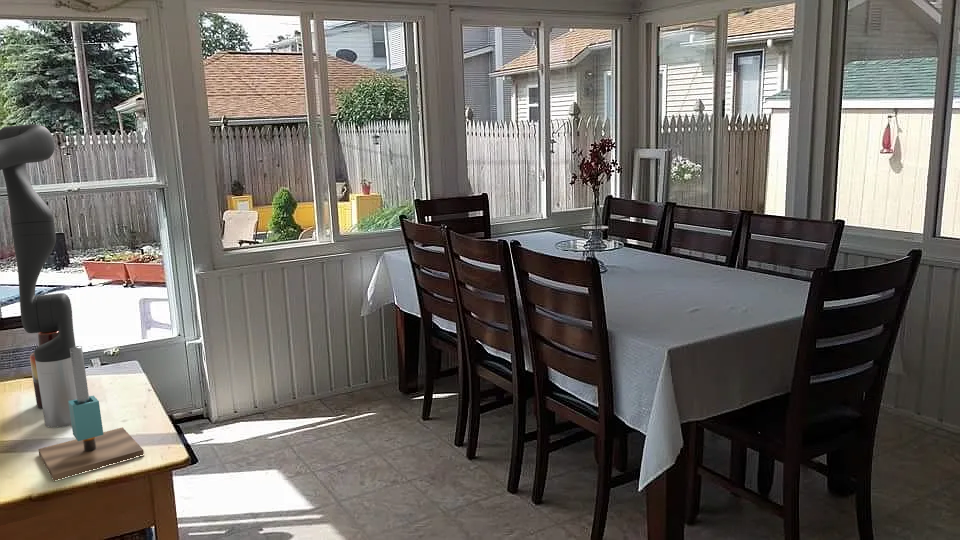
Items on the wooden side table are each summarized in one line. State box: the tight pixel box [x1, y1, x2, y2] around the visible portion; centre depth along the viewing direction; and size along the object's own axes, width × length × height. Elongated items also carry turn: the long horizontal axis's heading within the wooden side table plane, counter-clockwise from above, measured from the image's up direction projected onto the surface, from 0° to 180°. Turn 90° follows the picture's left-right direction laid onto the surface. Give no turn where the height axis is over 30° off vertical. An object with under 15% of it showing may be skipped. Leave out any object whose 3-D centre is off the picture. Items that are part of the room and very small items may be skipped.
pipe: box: [70, 345, 96, 452], centre depth 165 cm, size 3×3×24 cm
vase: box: [29, 330, 59, 410], centre depth 201 cm, size 11×11×20 cm
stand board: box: [38, 427, 145, 482], centre depth 167 cm, size 18×18×2 cm
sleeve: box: [68, 395, 104, 441], centre depth 165 cm, size 5×5×8 cm
